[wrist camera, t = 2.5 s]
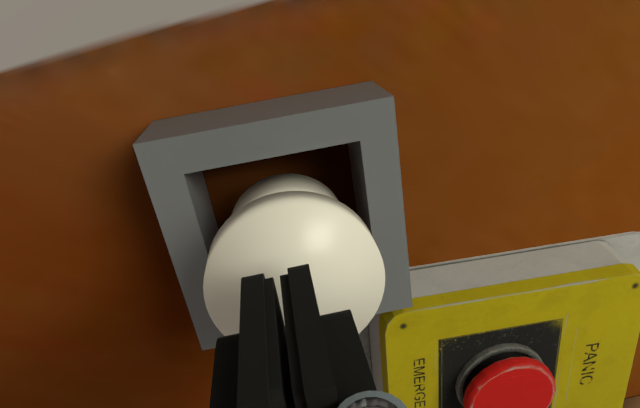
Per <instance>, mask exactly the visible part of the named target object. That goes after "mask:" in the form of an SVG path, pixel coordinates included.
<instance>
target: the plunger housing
mask: <svg viewBox="0 0 640 408" xmlns="http://www.w3.org/2000/svg"><path fill="white" fill-rule="evenodd" d="M346 143H347V144H348V151H349V159H350V166H351V173H352V181H353V188H354V195H355V202H356V210H357V215H358V216H359V217H360V218H361V219H362V220H363V222H364V223H365V224H366V226H367V227H368V229H369V231H370V233H371V235H372V237H373V239H374V241H375V243H376V245H377V247H378V249H379V251H380V254H381V257H382V259H383V263H384V268H385V288H384V293H383V297H382V301H381V303H380V305H379V308H378V310H377V312H376V313H375V315H376V314H380V313H385V312H390V311H395V310H400V309H404V308H409V307H413V305H412V294H411V282H410V271H409V260H408V249H407V238H406V227H405V215H404V204H403V193H402V182H401V171H400V160H399V148H398V137H397V126H396V115H395V104H394V96H393V95H391V94H390V93H389V92H387V91H386V90H384V89H383V88H381V87H380V86H378V85H377V84H376V83H374V82H373V81H369V82H363V83H358V84H352V85H347V86H341V87H336V88H330V89H325V90H319V91H314V92H309V93H303V94H298V95H292V96H287V97H281V98H276V99H270V100H265V101H259V102H254V103H248V104H243V105H238V106H232V107H227V108H221V109H216V110H210V111H205V112H199V113H194V114H188V115H183V116H177V117H172V118H167V119H161V120H156V121H153V122H152V123H151V124H150V125H149V126H148V127H147V129H146V130H145V131H144V132H143V133H142V134H141V135H140V137H139V138H138V139H137V140H136V141H135V142H134V143H133V148H134V151H135V153H136V156H137V159H138V162H139V165H140V168H141V171H142V174H143V177H144V180H145V183H146V186H147V189H148V192H149V195H150V198H151V201H152V204H153V207H154V210H155V213H156V215H157V218H158V221H159V224H160V227H161V230H162V233H163V236H164V239H165V242H166V245H167V248H168V251H169V254H170V257H171V260H172V263H173V266H174V269H175V272H176V275H177V277H178V280H179V283H180V286H181V289H182V292H183V295H184V298H185V301H186V304H187V307H188V310H189V313H190V316H191V319H192V322H193V325H194V328H195V331H196V334H197V337H198V339H199V342H200V345H201V348H202V351H203V350H208V349H212V348H216V341H217V339H218V338H219V337H223V336H224V335H223V334H222V333H221V332H220V331H219V329H218V328H217V327H216V326H215V324H214V323H213V321H212V319H211V318H210V316H209V313H208V311H207V308H206V305H205V300H204V294H203V281H204V274H205V268H206V263H207V258H208V254H209V250H210V246H211V244H212V242H213V239H214V237H215V235H216V234H217V232H218V230H219V229H218V225H217V222H216V218H215V214H214V211H213V207H212V204H211V200H210V197H209V193H208V190H207V186H206V182H205V179H204V175H203V172H202V171H203V170H209V169H214V168H219V167H225V166H230V165H235V164H240V163H246V162H251V161H256V160H262V159H267V158H272V157H277V156H283V155H288V154H293V153H298V152H304V151H309V150H314V149H320V148H325V147H330V146H335V145H341V144H346Z"/></svg>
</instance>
